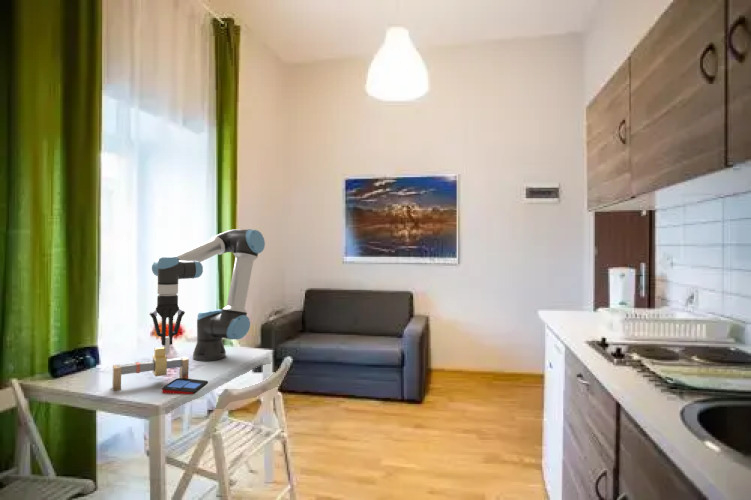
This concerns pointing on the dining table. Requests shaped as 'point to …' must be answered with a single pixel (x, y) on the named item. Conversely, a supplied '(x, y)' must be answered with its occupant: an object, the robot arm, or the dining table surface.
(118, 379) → the grey rail on posts
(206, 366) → the dining table surface
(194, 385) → the game console
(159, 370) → the beige wooden block
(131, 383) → the dining table surface
